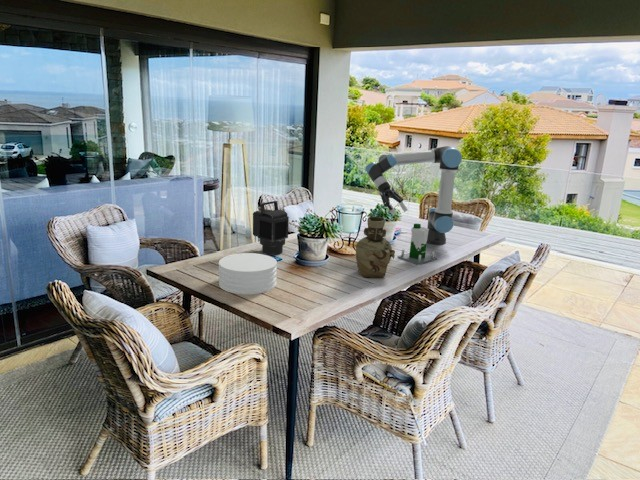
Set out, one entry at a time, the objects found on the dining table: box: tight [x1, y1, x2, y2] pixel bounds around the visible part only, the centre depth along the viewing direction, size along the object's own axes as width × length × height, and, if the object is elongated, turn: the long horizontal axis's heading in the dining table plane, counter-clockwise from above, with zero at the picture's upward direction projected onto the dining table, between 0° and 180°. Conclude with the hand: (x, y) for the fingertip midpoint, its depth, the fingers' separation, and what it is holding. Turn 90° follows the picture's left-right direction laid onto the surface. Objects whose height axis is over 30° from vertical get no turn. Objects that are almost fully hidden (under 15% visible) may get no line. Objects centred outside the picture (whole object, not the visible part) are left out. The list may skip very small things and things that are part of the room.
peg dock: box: [396, 248, 438, 266], centre depth 288 cm, size 18×16×5 cm
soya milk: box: [409, 223, 429, 259], centre depth 285 cm, size 9×9×20 cm
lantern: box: [252, 200, 290, 256], centre depth 285 cm, size 15×18×30 cm
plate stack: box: [218, 252, 278, 295], centre depth 235 cm, size 28×28×12 cm
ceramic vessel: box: [355, 216, 396, 279], centre depth 256 cm, size 19×21×30 cm
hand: (400, 212), depth 295 cm, fingers open, 13 cm apart
